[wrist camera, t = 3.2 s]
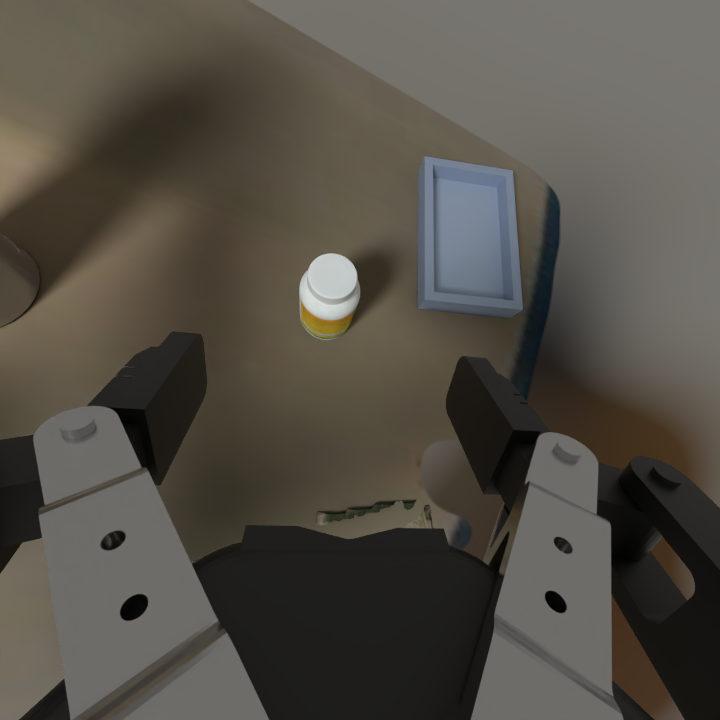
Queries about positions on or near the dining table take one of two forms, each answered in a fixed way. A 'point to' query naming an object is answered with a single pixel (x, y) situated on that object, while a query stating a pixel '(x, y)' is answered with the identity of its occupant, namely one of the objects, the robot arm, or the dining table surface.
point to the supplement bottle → (328, 296)
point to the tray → (467, 239)
